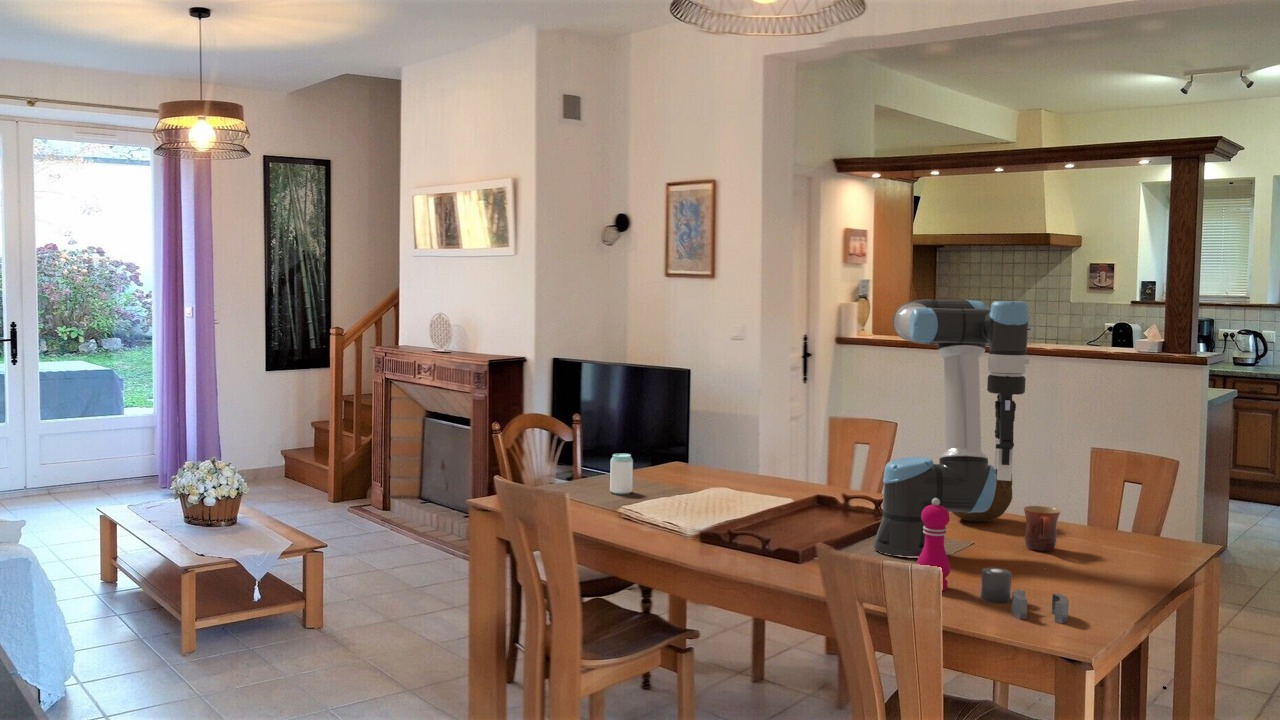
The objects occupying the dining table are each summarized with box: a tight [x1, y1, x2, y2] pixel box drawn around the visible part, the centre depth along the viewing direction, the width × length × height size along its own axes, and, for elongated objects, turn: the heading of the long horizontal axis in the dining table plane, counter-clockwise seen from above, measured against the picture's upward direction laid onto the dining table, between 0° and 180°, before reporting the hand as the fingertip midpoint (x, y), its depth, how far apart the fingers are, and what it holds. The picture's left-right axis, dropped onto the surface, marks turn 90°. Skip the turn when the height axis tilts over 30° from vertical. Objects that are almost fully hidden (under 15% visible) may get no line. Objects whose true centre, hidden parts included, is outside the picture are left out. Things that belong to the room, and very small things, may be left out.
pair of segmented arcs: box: [1010, 589, 1070, 624], centre depth 208 cm, size 10×7×4 cm
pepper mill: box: [916, 498, 951, 592], centre depth 226 cm, size 7×7×20 cm
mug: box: [1023, 505, 1061, 553], centre depth 260 cm, size 12×9×10 cm
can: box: [609, 453, 634, 495], centre depth 322 cm, size 7×7×12 cm
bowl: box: [951, 469, 1013, 523], centre depth 291 cm, size 19×19×15 cm
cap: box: [980, 567, 1013, 604], centre depth 219 cm, size 6×6×6 cm
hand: (1002, 474), depth 217 cm, fingers open, 13 cm apart
